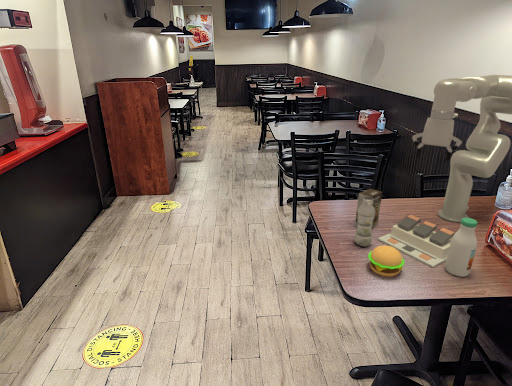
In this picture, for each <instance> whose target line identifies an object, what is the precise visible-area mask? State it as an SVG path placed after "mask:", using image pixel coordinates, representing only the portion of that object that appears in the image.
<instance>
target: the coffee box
mask: <svg viewBox="0 0 512 386" xmlns="http://www.w3.org/2000/svg"><path fill="white" fill-rule="evenodd" d="M382 196H383V191H381V190H377V189H373V188H368V189H365V190H363V191H360V192H359V193H358V199H357V205H356V213H355V220H354V221H355V222H354V227H355V228H357V227H358V208H359V207H360V206H361V205H362V204H363V203H362V202H363V198H364V197H371V198H373V204H372V205H373V207H374V209H375V216H374V220H373V224H372V229H373V228H375V227H376V226H378V225H379V217H380V212H381V211H380V210H381V205H382V198H383V197H382Z"/></svg>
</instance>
